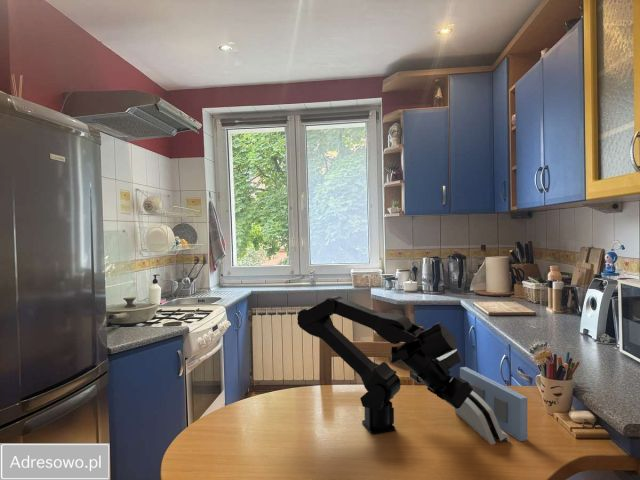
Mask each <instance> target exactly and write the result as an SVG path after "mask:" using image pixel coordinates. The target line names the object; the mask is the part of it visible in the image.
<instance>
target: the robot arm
mask: <svg viewBox="0 0 640 480" xmlns="http://www.w3.org/2000/svg"><path fill="white" fill-rule="evenodd" d="M333 315H337V316H340V317H342V318H344V319H347V320H349V321H352V322H355V323H357V324H359V325H361V326H364V327H367V328H369V329H371V330H373V331H374V332H375V333H376V334H377V335H378V336H379V337H380V338H382V339H383V340H385V341H387V342H388V343H390V344H392V345H397V346H391V349H390V350H391V351H390V354H391V356H390V362H391V363H392V364H393V363H396V362H398V361H401V362H402V363H403V364H404V365H405V366H406V367H407V368H408V369H409V370H410V371H409V377H410V379H412V380H413V381H414V382H416V383H417V384H418V385H420V384H423V385H424V386H425V387H427V389H426V390H427V391H429V392H430V393H432V394H434V395H436V397H438V398H439V399H440V400H442V401H445V402H446V403H448V404H449V405H450V406H451V407H453V409H454V408H456V409H458V408H460V407H461V405H462V404H463V403H464V401H465V400H466V399H467V397H468V396H469V395H470V393H471V392H472V391H473V387H472V386H471V385H470V384H469V383H468V382H467V381H465V380H463V379H462V378H460V376H455V377H454V376H452V375H450V373H451V370H450V369H452V368H453V367H455V366H456V365H458V364H460V363H461V362H462V358H461V355H460V353H459V350H458V349H457V347H458V344H457V341H456V338H455V337H454V334H453V333H452V332H451V331H450V330H449V329H448V328H447V327H446V326H444V325H443V323H442V322H441V321H439V322H437V323H435V324H433V325H432V326H431V327H429V328H427V329H425V328H423V327H421V326H419V325H417V324H415V323H413V322H412V321H411V319H410V318H409V317H408V316H406V315H403V314H399V313H398V314H397V313H390V312H388V313H387V312H381V311H376V310H375V309H371V308H368V307H366V306H363V305H361V304H358V303H355V302H353V301H350V300H347V299H344V298H343V297H341V296H339V295H334V296H331V297H327V298H326V299H325V300H324V301H322V302H320V303H318V304H317V305H313V306H309V307H306V308H303V309H300V310H299V312H298V314H297V318H296V319H297V325H298V326H299V328H300V329H301V330H303V331H304V332H305V333H307V334H308V335H310V336H313V337H315V338H318V339H320V340H322V341H323V342H324V343H325V344H326V345H327V346H328V347H329V348H330V349H331V350H332V351H333V352H334V353H335V354H336V355H338V356H339V357H340V358H341V359H342V361H343V362H345V363H346V364H347V365H348V366H349V367H350V368H351V369H352V370H353V371H354V372H355V373H356V374H357V375H359V377H360V379H361V381H362V384H363V387H364V389H365V390H366V391H367V392H365V393H364V394H363V395H362V396H361V397H360V403H361V405H362V407H363V408H364V419H363V420H361V424H363V426H364V427H365V428H366V429H367V430H368V431H369V432H370V433H371V435H376V434H384V433H387V432H393V431H396V427H395V426H394V424H395V408H394V407H393V402H392V401H391V400H392V399H393V398H394V396H395V395H396V394H397V393H399V392H400V390H401V387H402V386H401V385H402V384H401V379H400V377H399V376H398V374H397V370H394V369H392V368H391V366H390V365H389V364H388V363H387V362H386V361H382V362H381V363H379V364H378V363H376V362H374V361H372V360H371V359H370V358H369V357H368V356H367V355H366V354H365V353H364V352H363V351H362V350H360V348H359V347H358V346H356V345H355V344H354V343H353V342H352V341H351V340H350V339H349V338H347V337H346V336H345V335H344V334H343V333H342V332H341V331H340V330H339V329H338V328H337V327H336V326H335V325H334V323H333V320H332V317H331V316H333ZM400 343H401V344H400ZM398 344H400V345H398Z"/></svg>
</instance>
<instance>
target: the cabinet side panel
mask: <svg viewBox="0 0 640 480" xmlns="http://www.w3.org/2000/svg"><path fill="white" fill-rule="evenodd" d="M459 377H460V378H462V379H463V380H465V381H467V382H468V383H469V384H470V385H471V386H472V387H473V392H475V393H476V394H477V395H478V396H479V397H481V398H482V399H483V400H484V401H485V402H486V403H487V404H488V406H489V407H490V408H491V409H492V410H493V412H494V414H495V417H496V419H497V421H498V424H499V426H500V429H501V430H502V429H503V430H502V431H503V432H505V431H506V432H505V433H506V434H508V433H509V434H508V435H510V436H511V435H512V437H513V438H514V439H516V440H518V441H519V442H523V441H528V397H527V396H525V395H523V394H521V393H520V392H517V391H515V390H513V389H511V388H509V387H507V386H505V385H503V384H501V383H499V382H497V381H495V380H492V379H491V378H489V377H487V376H484V375H483V374H481V373H479V372H477V371H475V370H473V369H471V368H469V367H467V366H463V367H459Z"/></svg>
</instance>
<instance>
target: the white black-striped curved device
mask: <svg viewBox="0 0 640 480" xmlns="http://www.w3.org/2000/svg"><path fill="white" fill-rule="evenodd" d="M453 409H454V413H455V414H456V415H457V416H458V417H459V418H461V420H463V421H464V422H465V423H466V424H467V425H469V427H470V428H471V429H473V430H474V431H475V432H476V431H477V432H478V433H479V434H480V435H479V434H478V433H477V432H476V433H477V434H478V435H479V436H480V437H482V438H483V439H484V440H485V441H486V440H487V441H488V442H489V443H490V444H493V445H495V444H496V442H497V441H500V442H502V441H503V440H505V441H506V442H507V441H508V442H509V443H511V440H510V438H509V434H508V433H507V432H505V431H504V430H502V429H501V428H500V426H499V424H498V421H497V419H496V417H495V414H494V412H493V410H492V409H491V408H490V407H489V406H488V404H487V403H486V402H485V401H484V400H483V399H482V398H481V397H479V396H478V395H477V394H476V393H475V392H473V391H472V392H471V393H470V395H469V396H468V397H467V399H466V400H465V401H464V403H463V404H462V405H461V407H460V408H458V409H456V408H454V407H453ZM487 441H486V442H487ZM488 442H487V443H488ZM508 442H507V443H508ZM489 443H488V444H489ZM490 444H489V445H490Z"/></svg>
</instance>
